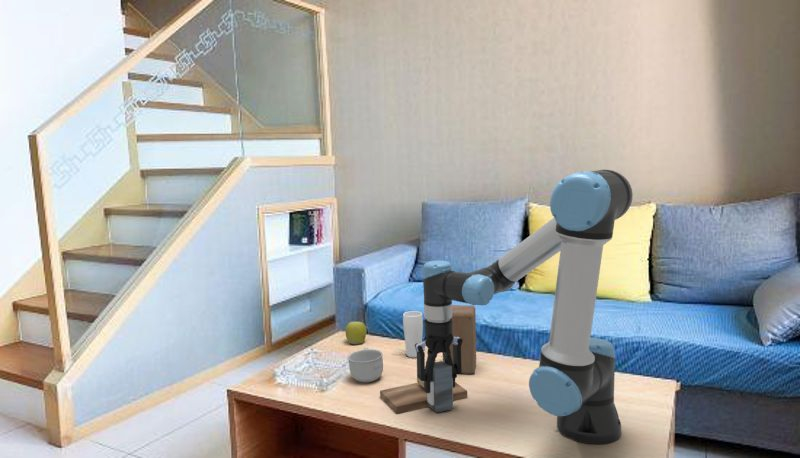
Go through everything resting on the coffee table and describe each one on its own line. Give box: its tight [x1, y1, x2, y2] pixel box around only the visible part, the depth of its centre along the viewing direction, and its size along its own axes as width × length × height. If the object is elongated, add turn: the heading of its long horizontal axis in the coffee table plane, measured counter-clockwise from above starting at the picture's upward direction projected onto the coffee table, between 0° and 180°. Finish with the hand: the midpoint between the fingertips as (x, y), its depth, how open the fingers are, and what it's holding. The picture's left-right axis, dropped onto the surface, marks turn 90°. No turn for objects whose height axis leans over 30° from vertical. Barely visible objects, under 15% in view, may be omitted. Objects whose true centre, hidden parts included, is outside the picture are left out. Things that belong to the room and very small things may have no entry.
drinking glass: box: [402, 310, 424, 359], centre depth 194 cm, size 7×7×15 cm
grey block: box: [416, 360, 454, 414], centre depth 158 cm, size 16×5×12 cm, turn 23°
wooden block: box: [442, 304, 477, 375], centre depth 180 cm, size 10×10×20 cm
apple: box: [345, 317, 367, 345], centre depth 210 cm, size 8×8×10 cm
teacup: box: [347, 347, 384, 384], centre depth 177 cm, size 14×11×8 cm
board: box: [379, 381, 468, 415], centre depth 161 cm, size 12×22×2 cm, turn 114°
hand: (440, 400), depth 153 cm, fingers closed on grey block, 5 cm apart
